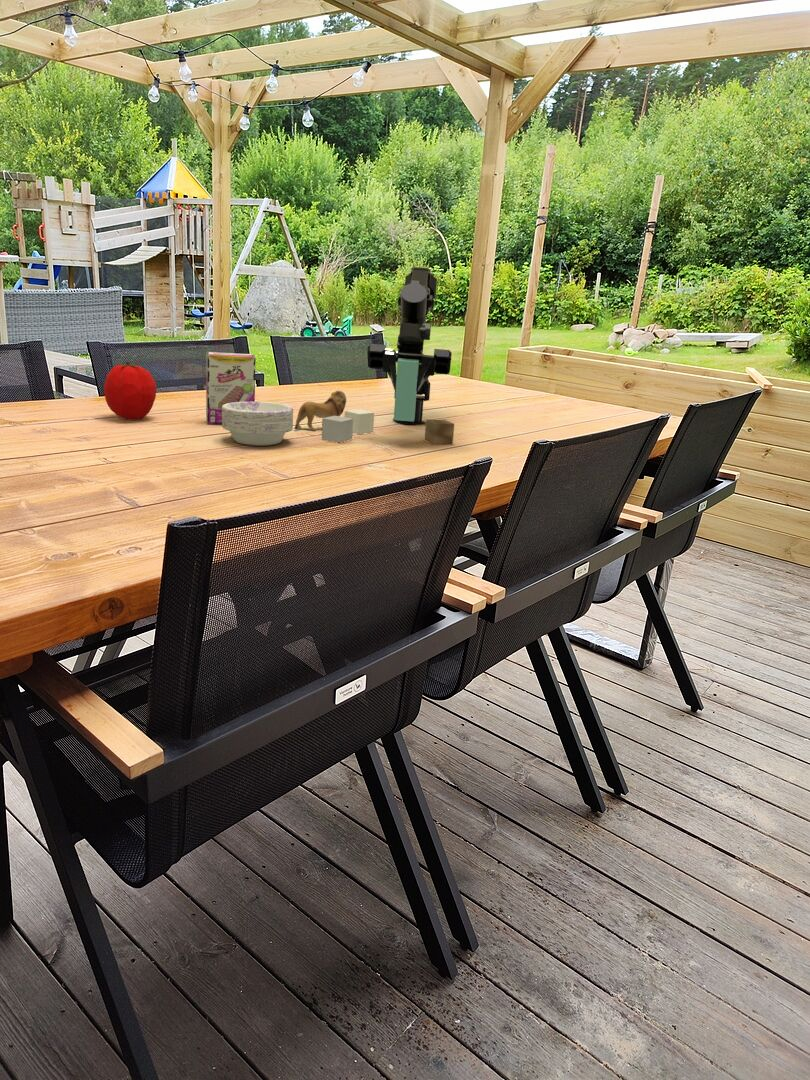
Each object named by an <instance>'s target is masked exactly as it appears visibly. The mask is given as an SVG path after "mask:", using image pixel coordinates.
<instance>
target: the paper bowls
mask: <svg viewBox="0 0 810 1080" xmlns="http://www.w3.org/2000/svg"><path fill="white" fill-rule="evenodd" d="M293 425H294V408H293V406H290V405H288V404H284V403H278V402H271V401H269V402H268V401H255V402H232V403H227V404H224V405H223V406H222V424H221V427H222V429H223V430H225V431H229V433H230V434H231V437H232V439H233V441H235V442H236V443H238V444H242V445H245V446H254V447H255V446H259V447H265V446H273V445H277V444H279V443H281V442H282V441H283V439H284V437H285V434H286V433H290V432H292V431H293V429H294V426H293Z"/></svg>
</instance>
